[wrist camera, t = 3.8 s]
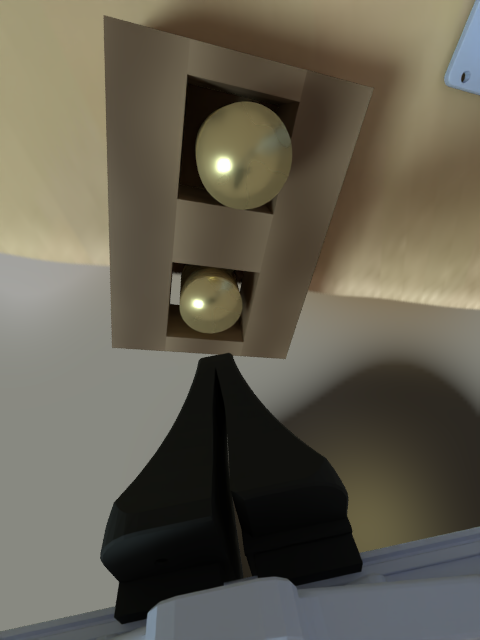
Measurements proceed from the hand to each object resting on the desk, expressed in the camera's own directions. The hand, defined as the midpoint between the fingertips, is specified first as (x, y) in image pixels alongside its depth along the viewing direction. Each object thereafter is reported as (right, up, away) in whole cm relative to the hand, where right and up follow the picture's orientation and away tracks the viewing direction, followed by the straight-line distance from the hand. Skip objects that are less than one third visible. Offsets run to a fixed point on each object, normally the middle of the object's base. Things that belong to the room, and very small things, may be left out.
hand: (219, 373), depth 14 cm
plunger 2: (+1, +10, +1) cm, 10 cm away
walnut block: (-1, +9, +6) cm, 11 cm away
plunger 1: (-1, +5, +8) cm, 9 cm away
